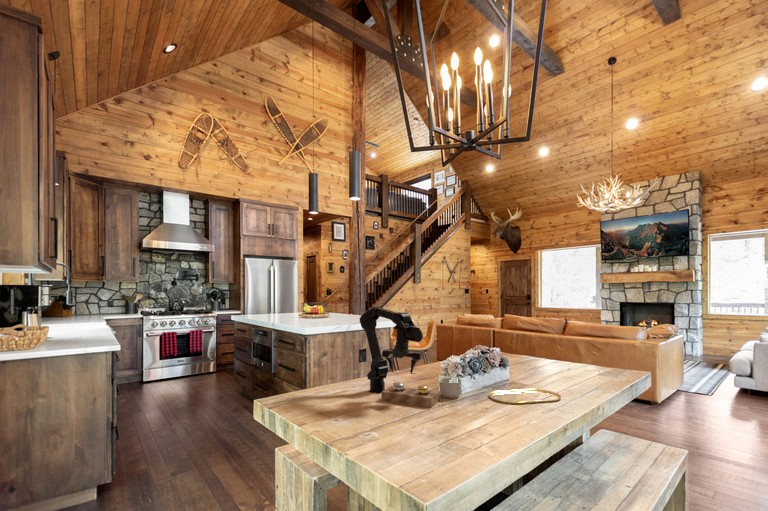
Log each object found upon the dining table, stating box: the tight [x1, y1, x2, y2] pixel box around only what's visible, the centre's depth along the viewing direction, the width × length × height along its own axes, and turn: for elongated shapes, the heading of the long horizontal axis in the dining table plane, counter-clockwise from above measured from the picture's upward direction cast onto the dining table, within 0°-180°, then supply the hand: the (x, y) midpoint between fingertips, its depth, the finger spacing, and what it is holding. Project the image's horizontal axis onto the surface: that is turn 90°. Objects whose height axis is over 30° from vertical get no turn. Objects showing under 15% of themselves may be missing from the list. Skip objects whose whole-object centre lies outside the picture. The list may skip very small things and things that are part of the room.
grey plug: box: [393, 382, 405, 392], centre depth 181 cm, size 5×5×3 cm
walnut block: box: [381, 385, 441, 409], centre depth 178 cm, size 24×12×4 cm, turn 64°
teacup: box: [438, 376, 463, 399], centre depth 186 cm, size 14×11×8 cm
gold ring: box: [488, 388, 562, 405], centre depth 183 cm, size 19×35×2 cm, turn 103°
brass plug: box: [417, 384, 429, 395], centre depth 175 cm, size 5×5×3 cm
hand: (401, 372), depth 181 cm, fingers open, 9 cm apart
